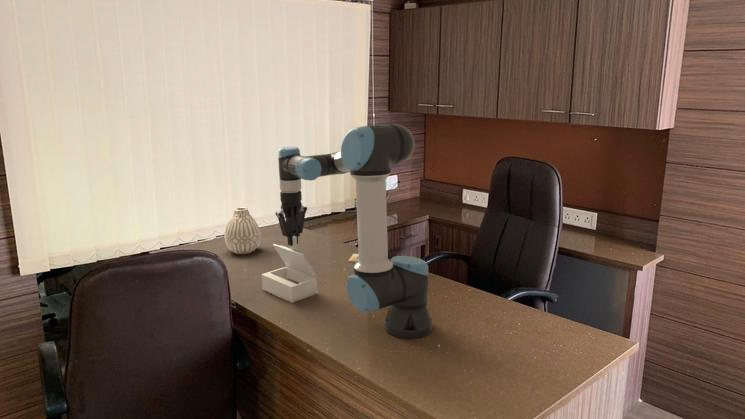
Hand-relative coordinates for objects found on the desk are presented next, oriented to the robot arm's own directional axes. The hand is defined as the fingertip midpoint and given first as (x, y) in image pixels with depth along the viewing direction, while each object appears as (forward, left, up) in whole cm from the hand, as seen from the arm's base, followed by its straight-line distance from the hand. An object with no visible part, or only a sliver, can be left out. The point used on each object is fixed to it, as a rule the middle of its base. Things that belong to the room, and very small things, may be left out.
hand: (293, 253), depth 206 cm
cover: (0, 0, -3) cm, 3 cm away
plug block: (-2, +5, -12) cm, 13 cm away
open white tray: (0, +2, -14) cm, 15 cm away
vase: (+52, -12, -15) cm, 55 cm away
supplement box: (-17, -16, -15) cm, 27 cm away
